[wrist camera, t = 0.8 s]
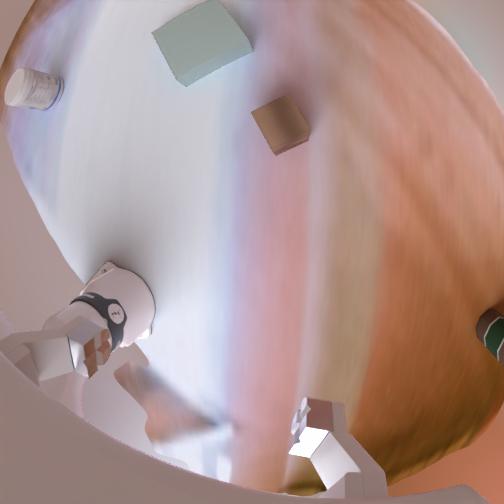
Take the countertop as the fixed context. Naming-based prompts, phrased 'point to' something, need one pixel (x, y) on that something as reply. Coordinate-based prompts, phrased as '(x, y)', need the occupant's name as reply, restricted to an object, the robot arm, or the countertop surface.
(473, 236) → the countertop surface
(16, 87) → the supplement tub
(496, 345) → the beer bottle
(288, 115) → the walnut box
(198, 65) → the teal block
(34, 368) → the robot arm
